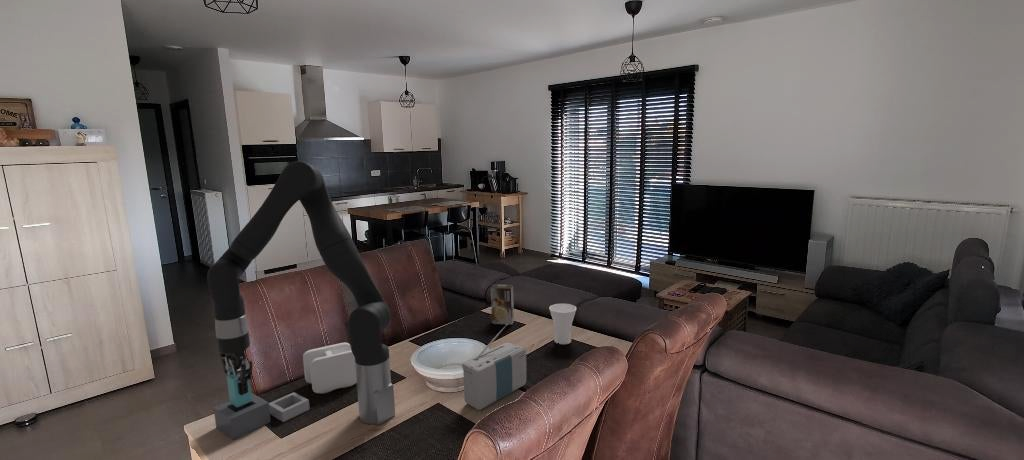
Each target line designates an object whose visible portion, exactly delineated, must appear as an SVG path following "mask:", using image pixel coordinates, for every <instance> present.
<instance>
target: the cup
mask: <svg viewBox="0 0 1024 460" xmlns="http://www.w3.org/2000/svg"><path fill="white" fill-rule="evenodd" d="M548 309H549V312H550V314H551V318H552V322H553V327H554V340H553V341H554V343H556V344H558V343H559V344H558V345H568V344H569V345H570V343H572V335H571V333H572V324H573V321H574V318H575V315H576V311H577V306H575V305H573V304H571V303H555V304H552V305H550V306H549V308H548Z"/></svg>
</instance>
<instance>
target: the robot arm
mask: <svg viewBox="0 0 1024 460" xmlns="http://www.w3.org/2000/svg"><path fill="white" fill-rule="evenodd" d="M298 201H299V202H300V203H301V205H302V207H303V209H304V210H305V211H304V212H306V215H307V216H308V219H309V222H310V226H311V231H312V236H313V239H314V244H315V245H316V249H317V251H318V253H319V255H320V257H321V259H322V261H323V262H324V263H323V264H324V265H325V267H326V268H327V270H328V271H329V272H330V273H331V274H332V275H334V276H335V277H336V278H337V279H338V280H339V281H341V283H343V284H344V285H345V286H346V287H347V288H348V289H349V290H350V292H351V294H352V295H353V298H354V300H355V302H356V304H357V307H356V308H355V309H353V310H352V311H351V312H350V314H349V317H348V321H347V329H348V336H349V337H348V338H349V344H350V346H351V351H352V353H353V355H354V357H355V367H356V380H357V383H356V389H357V402H358V403H357V404H358V414H359V420H360V421H361V422H362V423H364V424H369V425H377V426H380V425H381V424H383V423H385V422H386V421H388V420H390V419H391V418H393V417H395V416H396V408H395V407H396V405H395V393H394V392H395V391H394V390H395V389H394V384H393V383H392V379H391V361H390V349H389V346H388V345H386V344H385V343H382V334H381V333H382V332H383V331H384V330H386V328H387V327H388V326H390V324H391V320H392V312H391V310H390V307H389V306H388V303H387V302H386V300H385V299H384V296H383V295H382V294H381V292H380V290H379V289H378V288H377V286H376V284H375V282H374V281H373V279H372V277H371V275H370V273H369V271H368V269H367V267H366V265H365V262H364V261H363V259H362V258H361V255H360V253H359V250H358V248H357V246H356V244H355V242H354V240H353V238H352V236H351V234H350V233H349V231H348V228H347V226H346V225H345V223H344V222H343V221H344V220H343V219H342V218H341V216H340V214H339V213H338V211H337V210H336V208H335V206H334V204H333V201H332V199H331V196H330V193H329V191H328V188H327V185H326V183H325V179H324V176H323V174H322V172H321V171H320V170H319V169H318V167H316V166H315V165H313V164H310V163H308V162H307V161H302V160H296V161H291V162H289V163H288V164H287V165H286V166H285V167H284V169H283V170H282V172H281V173H280V175H279V176H278V178H277V179H276V181H275V183H274V186H273V187H272V189H271V190H270V192H269V194H268V195H267V197H266V198H265V200H264V201H263V203H262V204H261V206H260V207H259V208H258V209H257V211H256V212H255V213H254V215H253V216H252V217H251V218H250V220H248V222H247V223H246V224H245V226H244V227H243V228H242V229H241V231H240V232H239V233H238V234H237V236H236V237H235V238H234V240H232V242H231V244H230V246H229V247H228V248H227V250H226V251H224V253H223V254H222V255H221V256H220V257H219V259H218V260H217V261H216V262H215V263H214V264H212V266H210V268H209V269H208V271H207V274H206V276H207V277H206V279H207V286H208V290H209V293H210V297H211V299H212V303H213V311H214V320H215V325H214V329H215V336H216V343H217V350H218V352H219V357H220V360H221V364H222V367H223V372H224V374H227V376H228V375H231V374H234V375H236V378H237V382H238V391H239V394H240V395H244V394H246V393H248V384H247V380H250V381H251V380H252V373H253V361H252V360H249V361H248V357H247V355H246V352H245V351H246V350H247V349H249V347H250V345H251V342H250V332H249V323H248V319H247V315H246V307H245V300H244V297H243V295H242V294H241V291H240V286H239V285H240V284H239V279H240V278H241V276H243V274H244V273H245V272H246V270H247V268H249V266H250V265H251V263H252V262H253V260H255V259H256V258H257V257H258V256H259V255H260V254H261V252H262V251H263V250H264V249H265V248H266V247H267V245H268V244H269V242H270V241H271V240H272V239H273V237H274V236H275V234H276V233H277V231H278V228H279V227H280V225H281V222H282V221H283V219H284V218H285V216H286V214H287V213H288V212H289V211H290V210H291V209H292V207H294V205H295V204H297V202H298ZM238 369H241V370H239V371H237V370H238Z"/></svg>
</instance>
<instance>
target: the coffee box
mask: <svg viewBox="0 0 1024 460" xmlns="http://www.w3.org/2000/svg"><path fill="white" fill-rule="evenodd" d="M490 303H491V305H490V306H491V309H490V310H491V324H492V323H493V324H492V325H506V324H508V325H513V323H514V322H515V309H514V308H515V307H514V306H515V304H514V284H504V283H503V284H501V283H500V284H499V283H493V284H492V286H491V288H490Z"/></svg>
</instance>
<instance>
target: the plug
mask: <svg viewBox="0 0 1024 460" xmlns="http://www.w3.org/2000/svg"><path fill="white" fill-rule="evenodd" d="M239 370H241V368H240V369H238V370H237V371H239ZM226 381H227V382H226V383H227V389H228V390H227V391H228V397H229V401H230V403H231V404H232V405H234V406H235V407H239V406H242V405H244V404H246V403H249V402H251V401H252V396H251V393H252V389H251V382H250V381H251V379H250V380H247V384H248V393H246V394H244V395H240V394H239V391H238V382H237V378H236V375H234V374H231V375H228V374H227V375H226Z"/></svg>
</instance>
